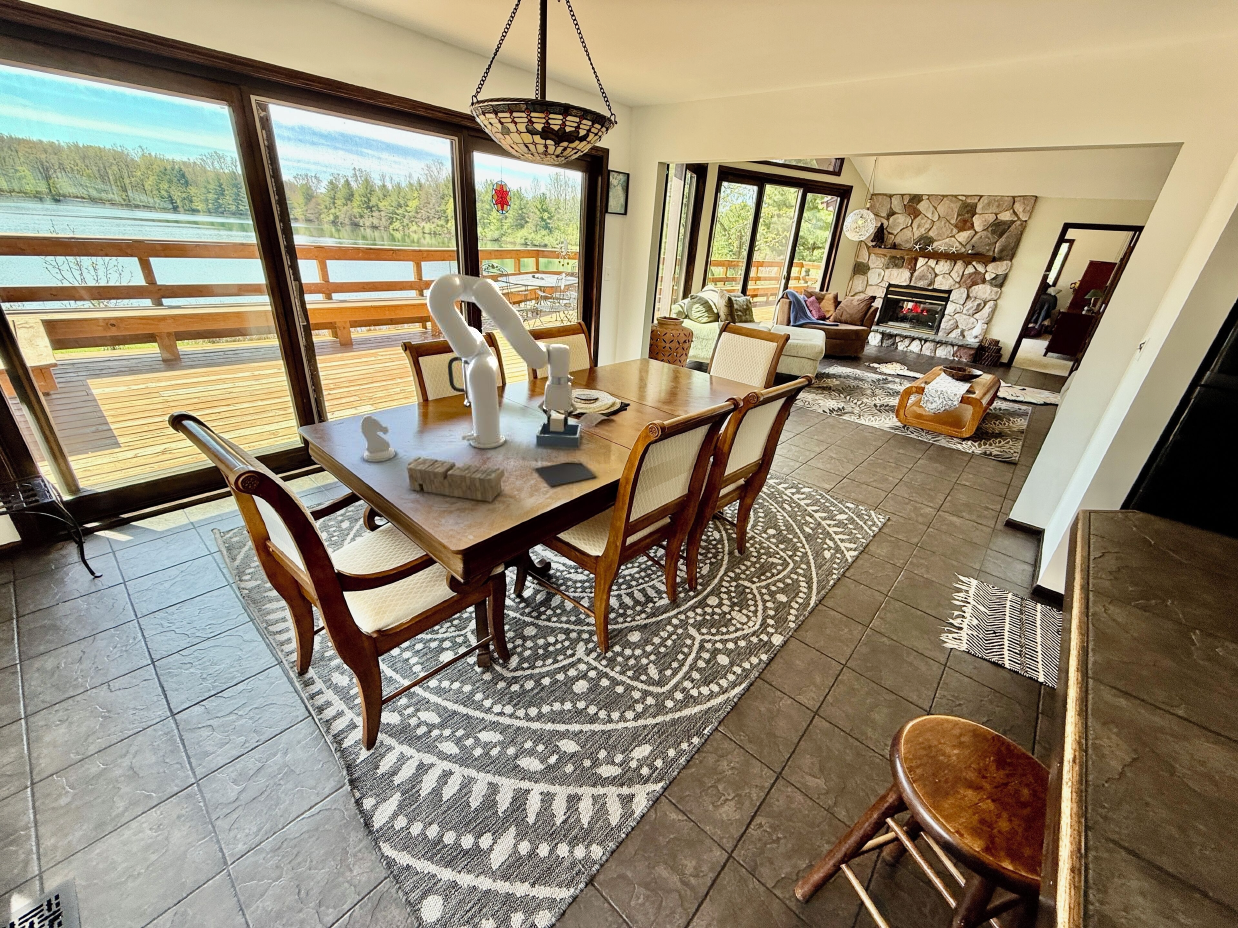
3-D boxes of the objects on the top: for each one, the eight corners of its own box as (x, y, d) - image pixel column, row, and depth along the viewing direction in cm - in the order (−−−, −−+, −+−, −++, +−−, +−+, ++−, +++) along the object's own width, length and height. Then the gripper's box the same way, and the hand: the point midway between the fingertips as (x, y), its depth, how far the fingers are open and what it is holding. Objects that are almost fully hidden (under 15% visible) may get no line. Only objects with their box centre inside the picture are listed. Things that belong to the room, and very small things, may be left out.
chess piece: (397, 458, 165) (390, 417, 159) (365, 463, 160) (357, 421, 154) (392, 448, 173) (385, 408, 166) (362, 452, 168) (353, 412, 161)
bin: (536, 447, 179) (536, 435, 177) (542, 434, 191) (541, 422, 189) (578, 449, 179) (578, 437, 177) (581, 435, 191) (581, 424, 189)
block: (549, 430, 180) (550, 418, 178) (551, 426, 185) (551, 413, 183) (563, 431, 181) (563, 419, 178) (564, 427, 185) (565, 414, 183)
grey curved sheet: (592, 428, 199) (592, 422, 198) (575, 422, 205) (575, 416, 204) (615, 420, 209) (616, 415, 208) (599, 414, 215) (599, 409, 214)
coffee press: (485, 395, 232) (480, 332, 219) (501, 404, 222) (497, 338, 209) (450, 401, 221) (443, 335, 208) (466, 411, 211) (460, 342, 198)
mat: (551, 487, 152) (551, 486, 152) (535, 469, 163) (535, 468, 162) (596, 477, 159) (596, 476, 159) (578, 461, 170) (578, 460, 170)
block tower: (406, 491, 147) (495, 503, 141) (401, 466, 143) (492, 477, 137) (421, 480, 154) (506, 490, 148) (417, 456, 150) (504, 466, 144)
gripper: (582, 378, 178) (580, 424, 186) (536, 375, 178) (536, 421, 185) (581, 384, 171) (579, 431, 179) (533, 380, 171) (533, 428, 179)
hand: (557, 425), depth 182 cm, fingers closed on block, 5 cm apart
